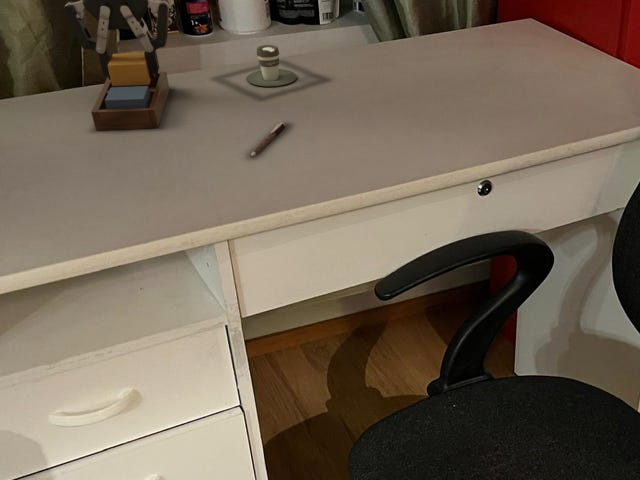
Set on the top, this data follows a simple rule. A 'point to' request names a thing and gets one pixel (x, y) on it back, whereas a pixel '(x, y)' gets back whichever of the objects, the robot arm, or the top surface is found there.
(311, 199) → the top surface
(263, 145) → the pen
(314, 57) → the top surface
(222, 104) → the top surface
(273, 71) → the coffee cup
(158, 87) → the back frame
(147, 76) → the orange block
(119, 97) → the pad grey
